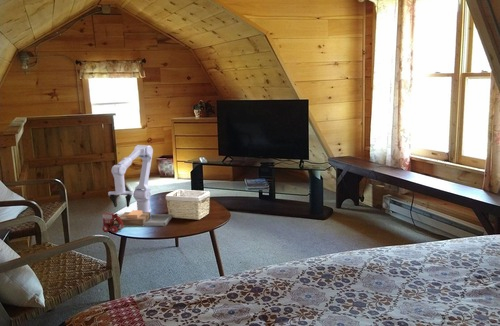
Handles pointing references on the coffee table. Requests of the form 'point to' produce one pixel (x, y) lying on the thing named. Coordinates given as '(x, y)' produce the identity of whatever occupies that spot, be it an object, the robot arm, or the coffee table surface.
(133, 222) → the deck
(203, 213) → the storage basket
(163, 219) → the tray
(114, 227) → the toy fire truck
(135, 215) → the tan rectangular block
